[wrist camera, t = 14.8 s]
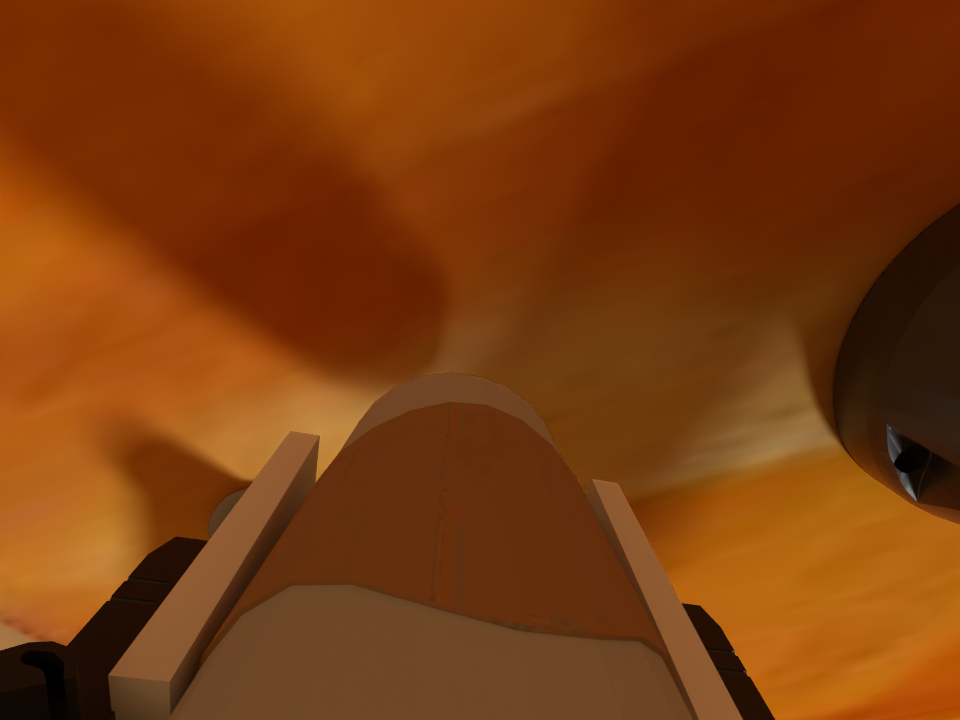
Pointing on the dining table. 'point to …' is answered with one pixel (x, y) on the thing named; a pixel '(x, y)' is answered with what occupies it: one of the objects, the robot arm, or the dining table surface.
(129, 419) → the dining table surface
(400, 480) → the coffee cup
